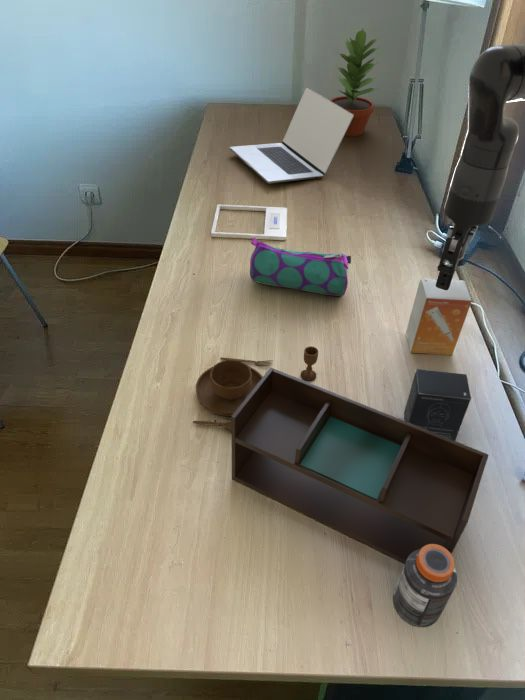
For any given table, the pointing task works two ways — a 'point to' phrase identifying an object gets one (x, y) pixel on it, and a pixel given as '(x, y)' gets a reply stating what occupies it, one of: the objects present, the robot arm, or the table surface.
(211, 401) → the place setting
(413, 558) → the pill bottle
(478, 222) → the robot arm
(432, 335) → the small box
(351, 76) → the potted plant
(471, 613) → the table surface
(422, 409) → the box
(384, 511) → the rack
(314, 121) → the laptop
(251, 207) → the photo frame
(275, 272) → the pencil case
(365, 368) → the table surface
